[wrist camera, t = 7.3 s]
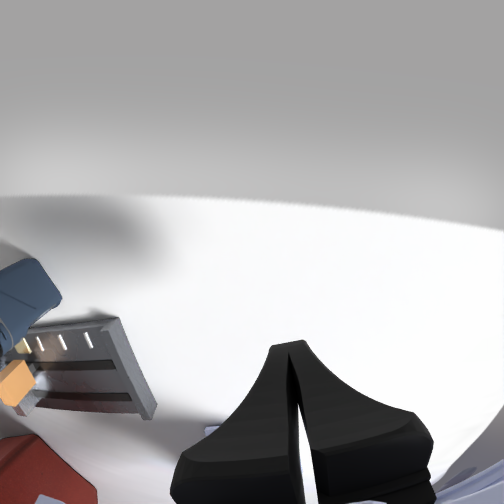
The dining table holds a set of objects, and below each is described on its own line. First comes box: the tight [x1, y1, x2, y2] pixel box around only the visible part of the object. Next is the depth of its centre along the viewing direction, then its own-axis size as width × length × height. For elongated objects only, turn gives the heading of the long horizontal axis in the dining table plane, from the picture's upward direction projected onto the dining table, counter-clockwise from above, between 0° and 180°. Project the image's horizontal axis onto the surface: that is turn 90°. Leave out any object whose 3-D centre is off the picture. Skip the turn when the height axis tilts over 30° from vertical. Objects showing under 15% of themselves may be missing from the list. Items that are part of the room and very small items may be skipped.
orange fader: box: [0, 360, 36, 407], centre depth 21 cm, size 3×2×5 cm
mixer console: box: [0, 318, 157, 420], centre depth 22 cm, size 9×18×4 cm, turn 102°
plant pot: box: [0, 434, 98, 504], centre depth 22 cm, size 19×19×17 cm
